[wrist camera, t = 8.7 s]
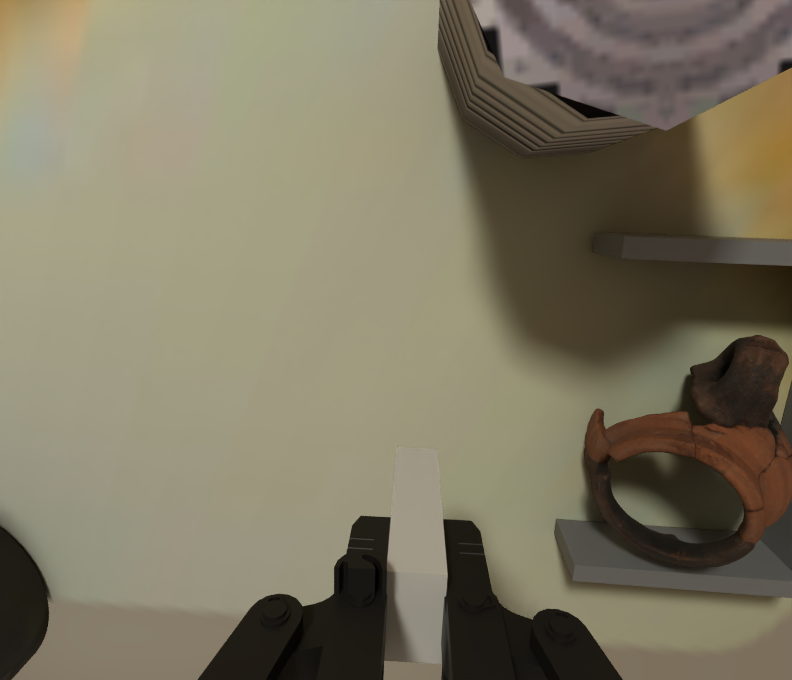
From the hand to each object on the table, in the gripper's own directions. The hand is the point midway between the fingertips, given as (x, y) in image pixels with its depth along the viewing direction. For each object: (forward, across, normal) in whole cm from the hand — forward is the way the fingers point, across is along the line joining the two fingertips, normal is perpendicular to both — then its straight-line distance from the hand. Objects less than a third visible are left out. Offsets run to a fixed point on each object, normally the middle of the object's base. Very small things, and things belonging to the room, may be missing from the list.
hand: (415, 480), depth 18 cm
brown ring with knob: (+10, -15, +1) cm, 18 cm away
